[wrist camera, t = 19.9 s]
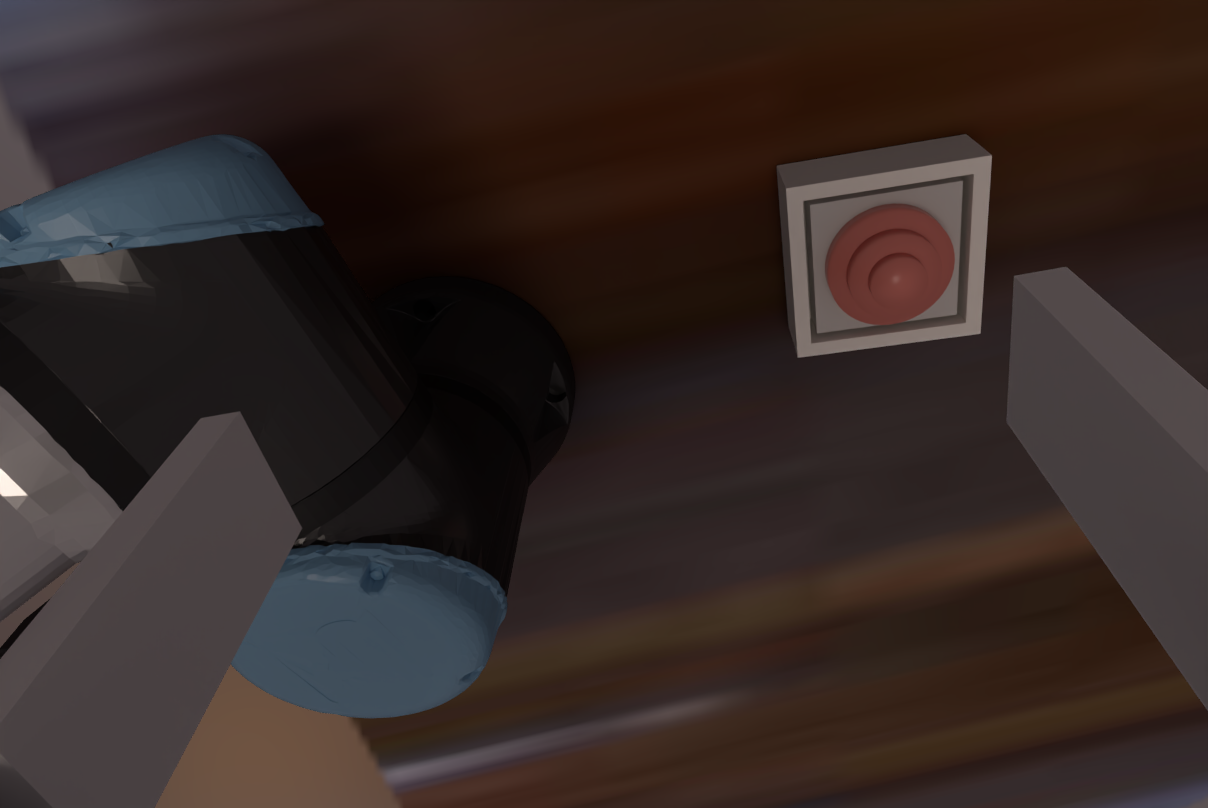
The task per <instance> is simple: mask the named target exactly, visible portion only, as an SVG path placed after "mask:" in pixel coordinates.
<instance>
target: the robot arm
mask: <svg viewBox="0 0 1208 808" xmlns="http://www.w3.org/2000/svg"><path fill="white" fill-rule="evenodd" d="M323 225H324V222H323V220H322V219H321V218H320V217H319V215H318V214H315V213H312V212H311V211H310V210H309V208H308V207H307V206H306V205H305V203H304V202H303V201H302V199H301V198H300V197H299V195H298V194H297V193H296V191H295V190H294V189H293V187H292V186H291V184H290V183H289V182H288V180H287V179H286V177H285V176H284V175H283V173H282V172H281V171H280V169H279V168H278V166H277V165H276V164H275V162H274V161H273V160H272V158H271V157H270V156H269V155H268V154H267V153H266V152H265V151H264V150H263V149H262V148H261V147H259V146H258V145H256V144H255V143H253V142H251V141H249V140H247V139H244V138H242V137H238V136H234V135H226V134H218V135H210V136H205V137H202V138H198V139H195V140H191V141H188V142H185V143H182V144H178V145H175V146H172V147H169V148H166V149H163V150H160V151H157V152H154V153H151V154H149V155H146V156H143V157H140V158H137V159H134V160H131V161H129V162H126V163H123V164H120V165H117V166H115V167H112V168H109V169H106V170H104V171H101V172H98V173H95V174H93V175H90V176H88V177H85V178H82V179H80V180H77V181H74V182H72V183H69V184H66V185H64V186H61V187H58V188H56V189H53V190H51V191H48V192H46V193H43V194H41V195H38V196H36V197H33V198H31V199H28V200H26V201H24V202H23V203H22V204H18V205H14V206H11V207H9V208H7V209H4V210H2V211H0V622H1V621H2V620H4V619H5V618H6V617H7V616H9V615H10V614H11V613H13V612H14V611H15V610H16V609H18V608H19V607H20V606H22V605H23V604H24V603H25V602H27V601H28V600H29V599H31V598H32V597H33V596H35V595H36V594H37V593H38V592H40V591H41V590H42V589H43V588H45V587H46V586H47V585H49V584H50V583H51V582H52V581H54V580H55V579H56V578H58V577H59V576H60V575H61V574H63V573H64V572H65V571H67V570H68V569H69V568H70V567H72V566H73V565H74V564H76V563H79V562H81V563H80V564H79V565H78V566H77V567H76V569H75V570H74V571H73V572H72V574H71V575H70V576H69V577H68V578H67V580H66V581H65V582H64V583H63V584H62V586H61V587H60V588H59V589H58V590H57V592H56V593H55V594H54V595H53V597H51V598H50V599H49V600H48V601H47V602H45V603H44V604H43V605H42V606H41V607H39V608H38V609H37V610H36V611H34V612H33V613H32V614H31V615H29V616H28V617H27V618H26V619H25V620H23V622H22V623H21V624H20V625H19V626H18V628H17V629H16V630H15V631H14V632H13V634H12V635H11V636H10V637H9V638H8V639H7V641H6V642H5V643H4V644H3V645H2V647H1V648H0V808H155V806H156V804H157V802H158V800H159V798H160V796H161V794H162V793H163V791H164V789H165V787H166V785H167V783H168V781H169V779H170V777H171V776H172V774H173V771H174V770H175V768H176V766H177V764H178V762H179V760H180V759H181V756H182V755H183V753H184V751H185V749H186V747H187V745H188V743H189V741H190V739H191V738H192V736H193V734H194V732H195V730H196V728H197V726H198V724H199V722H200V721H201V719H202V717H203V715H204V713H205V711H206V709H207V707H208V706H209V704H210V702H211V700H212V698H213V696H214V694H215V692H216V690H217V688H218V687H219V685H220V683H221V681H222V679H223V677H224V675H225V673H226V671H227V670H228V667H229V666H230V664H231V665H232V666H233V667H234V668H235V669H236V670H237V671H238V672H239V673H240V674H241V675H242V676H244V677H245V678H246V679H247V680H248V681H250V682H251V683H253V684H254V685H256V686H257V687H259V688H260V689H262V690H263V691H265V692H267V693H269V694H271V695H273V696H275V697H277V698H279V699H281V700H284V701H286V702H289V703H291V704H294V705H297V706H299V707H303V708H306V709H310V710H313V711H317V712H322V713H330V714H338V715H342V716H347V717H357V718H385V717H396V716H403V715H408V714H413V713H418V712H421V711H425V710H428V709H431V708H434V707H436V706H439V705H441V704H443V703H445V702H447V701H449V700H451V699H453V698H454V697H456V696H457V695H459V694H460V693H462V692H463V691H464V690H466V689H467V688H468V687H469V686H470V685H471V684H472V683H473V682H474V681H475V680H476V679H477V678H478V676H479V675H480V673H481V671H482V670H483V669H484V667H485V665H486V663H487V661H488V659H489V657H490V654H491V651H492V647H493V644H494V640H495V637H496V633H497V630H498V628H499V626H500V624H501V622H502V621H503V620H504V618H505V616H506V612H507V602H506V601H507V593H508V588H509V582H510V577H511V572H512V567H513V562H514V557H515V552H516V547H517V542H518V536H519V531H520V526H521V521H522V516H523V512H524V507H525V502H526V497H527V492H528V487H529V485H530V484H531V483H532V482H533V481H534V480H535V478H536V477H537V476H538V475H539V474H540V472H541V471H542V470H543V469H544V468H545V467H546V465H547V464H548V463H549V462H550V461H551V459H552V458H553V457H554V456H555V454H556V453H557V451H558V450H559V448H560V447H561V445H562V443H563V441H564V439H565V436H566V434H567V432H568V429H569V425H570V421H571V416H572V410H573V404H574V398H575V380H574V373H573V368H572V364H571V361H570V358H569V355H568V353H567V351H566V349H565V346H564V345H563V343H562V341H561V339H560V338H559V336H558V335H557V333H556V332H555V330H554V329H553V328H552V327H551V325H550V324H549V323H548V322H547V321H546V320H545V319H544V318H543V317H542V316H541V315H540V314H539V313H538V312H537V311H536V310H535V309H534V308H532V307H531V306H530V305H528V304H527V303H526V302H524V301H523V300H521V299H520V298H518V297H516V296H515V295H513V294H511V293H509V292H507V291H505V290H503V289H501V288H499V287H496V286H493V285H491V284H487V283H484V282H481V281H477V280H472V279H466V278H458V277H433V278H425V279H420V280H415V281H412V282H408V283H406V284H403V285H400V286H398V287H396V288H394V289H392V290H390V291H388V292H386V293H385V294H383V295H382V296H380V297H379V298H378V299H377V300H375V301H374V302H373V303H371V302H370V300H369V299H368V297H367V296H366V294H365V293H364V291H363V289H362V288H361V286H360V285H359V283H358V282H357V280H356V279H355V277H354V275H353V274H352V272H351V271H350V269H349V268H348V266H347V265H346V263H345V261H344V260H343V258H342V257H341V255H340V254H339V252H338V251H337V249H336V247H335V246H334V244H333V243H332V241H331V240H330V238H329V237H328V235H327V233H326V232H325V230H324V229H323V227H322V226H323ZM1007 423H1008V425H1009V426H1010V428H1011V429H1012V431H1013V432H1014V433H1015V435H1016V436H1017V438H1018V439H1019V441H1020V442H1021V443H1022V445H1023V446H1024V448H1025V449H1026V451H1027V452H1028V454H1029V455H1030V456H1031V458H1032V459H1033V461H1034V462H1035V464H1036V465H1037V466H1038V468H1039V469H1040V471H1041V472H1042V474H1043V475H1044V476H1045V478H1046V479H1047V481H1048V482H1049V484H1050V485H1051V487H1052V488H1053V489H1054V491H1055V492H1056V494H1057V495H1058V497H1059V498H1060V499H1061V501H1062V502H1063V504H1064V505H1065V507H1066V508H1067V510H1068V511H1069V512H1070V514H1071V515H1072V517H1073V518H1074V520H1075V521H1076V522H1077V524H1078V525H1079V527H1080V528H1081V530H1082V531H1083V532H1084V534H1085V535H1086V537H1087V538H1088V540H1089V541H1090V543H1091V544H1092V545H1093V547H1094V548H1095V550H1096V551H1097V553H1098V554H1099V555H1100V557H1101V558H1102V560H1103V561H1104V563H1105V564H1106V565H1107V567H1108V568H1109V570H1110V571H1111V573H1112V574H1113V576H1114V577H1115V578H1116V580H1117V581H1118V583H1119V584H1120V586H1121V587H1122V588H1123V590H1124V591H1125V593H1126V594H1127V596H1128V597H1129V598H1130V600H1131V601H1132V603H1133V604H1134V606H1135V607H1136V609H1137V610H1138V611H1139V613H1140V614H1141V616H1142V617H1143V619H1144V620H1145V621H1146V623H1147V624H1148V626H1149V627H1150V629H1151V630H1152V632H1153V633H1154V634H1155V636H1156V637H1157V639H1158V640H1159V642H1160V643H1161V644H1162V646H1163V647H1164V649H1165V650H1166V652H1167V653H1168V654H1169V656H1170V657H1171V659H1172V660H1173V662H1174V663H1175V665H1176V666H1177V667H1178V669H1179V670H1180V672H1181V673H1182V675H1183V676H1184V677H1185V679H1186V680H1187V682H1188V683H1189V685H1190V686H1191V687H1192V689H1193V690H1194V692H1195V693H1196V695H1197V696H1198V698H1199V699H1200V700H1201V702H1202V703H1203V705H1204V706H1205V708H1206V709H1207V710H1208V390H1207V389H1206V388H1205V387H1203V386H1202V385H1201V384H1200V383H1199V382H1198V381H1197V380H1195V379H1194V378H1193V377H1192V376H1191V375H1190V374H1189V373H1187V372H1186V371H1185V370H1184V369H1183V368H1182V367H1180V366H1179V365H1178V364H1177V363H1176V362H1175V361H1174V360H1172V359H1171V358H1170V357H1169V356H1168V355H1167V354H1166V353H1164V352H1163V351H1162V350H1161V349H1160V348H1159V347H1158V346H1156V345H1155V344H1154V343H1153V342H1152V341H1151V340H1150V339H1148V338H1147V337H1146V336H1145V335H1144V334H1143V333H1142V332H1140V331H1139V330H1138V329H1137V328H1136V327H1135V326H1134V325H1132V324H1131V323H1130V322H1129V321H1128V320H1127V319H1125V318H1124V317H1123V316H1122V315H1121V314H1120V313H1119V312H1117V311H1116V310H1115V309H1114V308H1113V307H1112V306H1111V305H1109V304H1108V303H1107V302H1106V301H1105V300H1104V299H1103V298H1101V297H1100V296H1099V295H1098V294H1097V293H1096V292H1095V291H1093V290H1092V289H1091V288H1090V287H1089V286H1088V285H1087V284H1085V283H1084V282H1083V281H1082V280H1081V279H1080V278H1079V277H1077V276H1076V275H1075V274H1074V273H1073V272H1072V271H1070V270H1069V269H1068V268H1067V267H1063V268H1057V269H1051V270H1046V271H1040V272H1034V273H1028V274H1023V275H1017V276H1014V287H1013V307H1012V326H1011V346H1010V365H1009V385H1008V405H1007Z"/></svg>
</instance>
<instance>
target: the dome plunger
mask: <svg viewBox="0 0 1208 808" xmlns="http://www.w3.org/2000/svg"><path fill="white" fill-rule="evenodd" d="M962 192H963V180H962V179H961V178H960V177H959V176H957V177H951V178H945V179H939V180H932V181H926V182H920V183H913V184H907V185H901V186H895V187H888V188H882V189H876V190H870V191H863V192H857V193H851V194H844V195H838V196H832V197H826V198H819V199H813V200H807V201H805V215H806V232H807V249H808V267H809V284H810V301H811V318H812V321H813V324H814V326H815V329H816V332H817V333H825V332H832V331H839V330H847V329H854V328H861V327H869V326H876V325H891V324H896V323H901V322H906V321H913V320H920V319H928V318H935V317H943V316H950V315H957V299H958V278H959V256H960V235H961V213H962Z"/></svg>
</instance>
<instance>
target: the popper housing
mask: <svg viewBox="0 0 1208 808" xmlns="http://www.w3.org/2000/svg"><path fill="white" fill-rule="evenodd" d="M991 162H992V155H991V154H990V153H989V152H987V151H986V150H985V149H984V148H983V147H981V146H980V145H979V144H978V143H976V142H975V141H974V140H973V139H972V138H970V137H969V136H968V135H967V134H964V135H958V136H952V137H946V138H940V139H933V140H927V141H921V142H915V143H909V144H903V145H897V146H891V147H885V148H879V149H873V150H867V151H861V152H855V153H849V154H843V155H837V156H831V157H825V158H819V159H813V160H807V161H801V162H795V163H789V164H783V165H777V166H776V167H777V180H778V194H779V207H780V221H781V234H782V247H783V261H784V274H785V287H786V301H787V314H788V326H789V330H790V333H791V336H792V340H793V343H794V347H795V350H796V353H797V357H798V358H799V357H807V356H815V355H822V354H830V353H837V352H845V351H852V350H860V349H868V348H875V347H883V346H890V345H898V344H906V343H913V342H921V341H928V340H936V339H943V338H951V337H959V336H966V335H974V334H980V332H981V317H982V301H983V286H984V270H985V255H986V239H987V224H988V208H989V193H990V177H991ZM957 176H959V177H960V178H961V179H962V180H963V192H962V213H961V235H960V256H959V278H958V299H957V315H950V316H943V317H935V318H928V319H920V320H913V321H906V322H901V323H896V324H891V325H876V326H869V327H861V328H854V329H847V330H839V331H832V332H825V333H817V332H816V329H815V326H814V324H813V321H812V318H811V301H810V284H809V267H808V249H807V232H806V215H805V201H807V200H813V199H819V198H826V197H832V196H838V195H844V194H851V193H857V192H863V191H870V190H876V189H882V188H888V187H895V186H901V185H907V184H913V183H920V182H926V181H932V180H939V179H945V178H951V177H957Z"/></svg>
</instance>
